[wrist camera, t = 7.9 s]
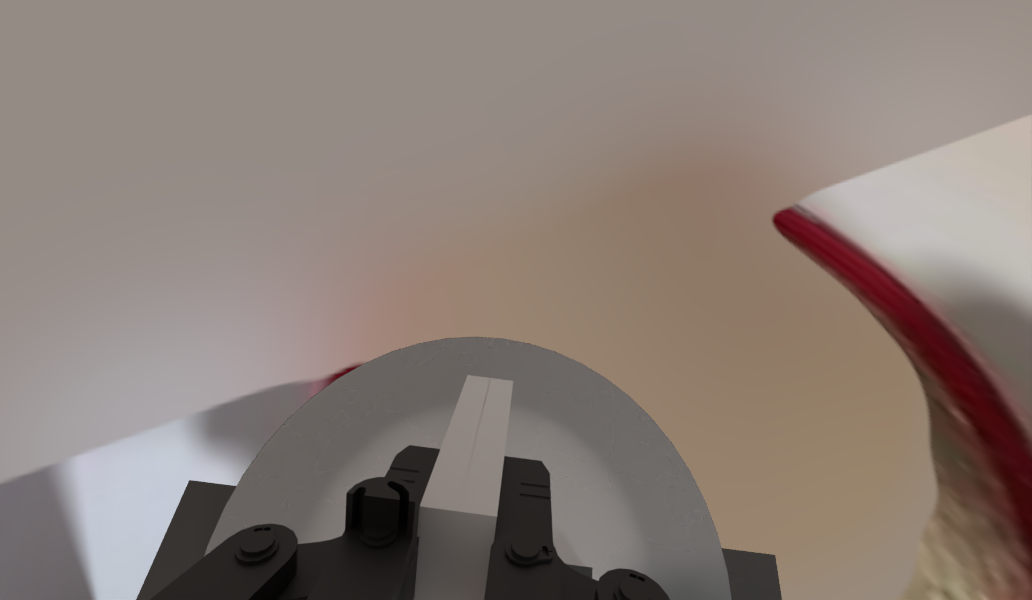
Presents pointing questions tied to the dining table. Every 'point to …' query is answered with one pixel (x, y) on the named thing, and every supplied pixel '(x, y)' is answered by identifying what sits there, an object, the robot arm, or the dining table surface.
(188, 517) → the cooking pot
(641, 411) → the pot lid
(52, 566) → the dining table surface
